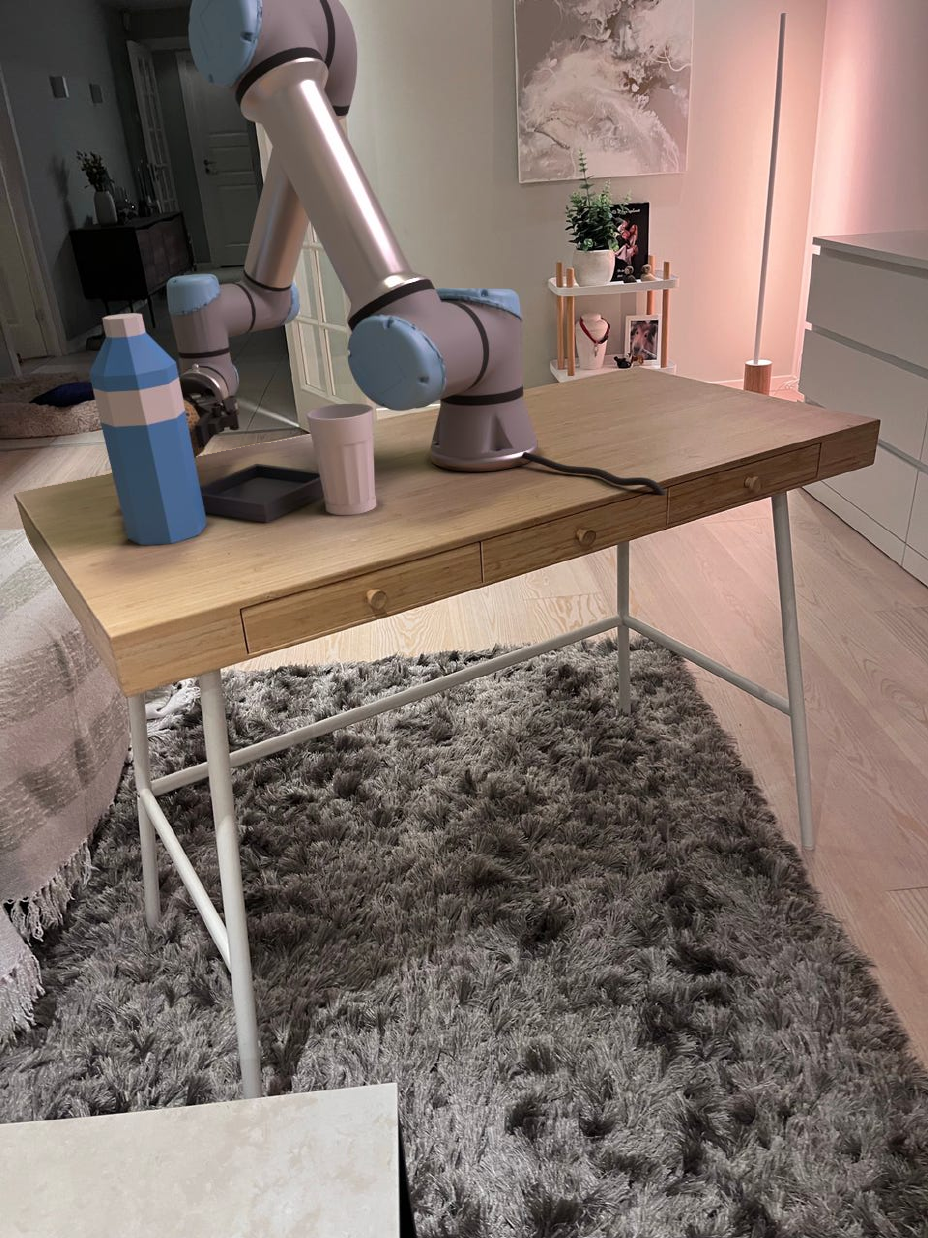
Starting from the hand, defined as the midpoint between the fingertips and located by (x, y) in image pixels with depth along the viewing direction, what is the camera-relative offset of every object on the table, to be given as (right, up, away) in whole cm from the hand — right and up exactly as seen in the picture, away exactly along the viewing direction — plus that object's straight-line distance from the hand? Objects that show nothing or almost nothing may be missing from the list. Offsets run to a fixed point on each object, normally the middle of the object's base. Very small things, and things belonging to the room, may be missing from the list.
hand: (158, 439), depth 113 cm
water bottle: (+1, -11, 0) cm, 11 cm away
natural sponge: (0, -4, +4) cm, 6 cm away
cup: (+23, -8, +4) cm, 24 cm away
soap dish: (+11, -6, +9) cm, 15 cm away
